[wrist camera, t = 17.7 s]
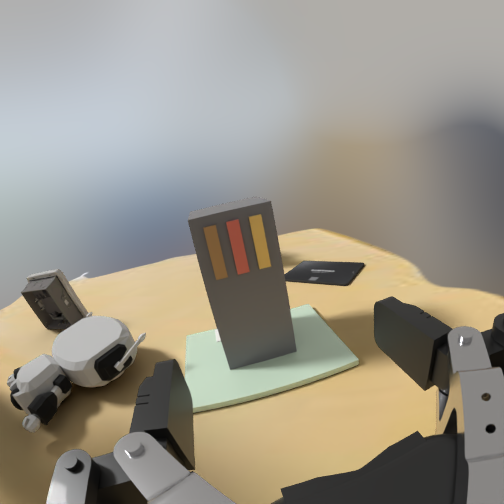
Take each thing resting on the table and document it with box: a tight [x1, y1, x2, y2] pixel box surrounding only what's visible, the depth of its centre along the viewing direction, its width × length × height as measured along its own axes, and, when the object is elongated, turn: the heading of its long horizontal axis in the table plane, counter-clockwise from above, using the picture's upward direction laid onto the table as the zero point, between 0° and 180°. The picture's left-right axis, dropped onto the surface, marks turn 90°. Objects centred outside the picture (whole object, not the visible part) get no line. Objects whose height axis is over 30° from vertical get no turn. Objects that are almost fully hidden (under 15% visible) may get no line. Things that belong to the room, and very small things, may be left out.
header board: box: [185, 304, 359, 413], centre depth 22 cm, size 13×11×10 cm
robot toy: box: [7, 312, 146, 432], centre depth 21 cm, size 12×4×15 cm
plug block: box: [188, 197, 297, 370], centre depth 22 cm, size 6×5×12 cm
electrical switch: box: [21, 269, 88, 329], centre depth 35 cm, size 9×5×9 cm, turn 81°
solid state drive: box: [284, 261, 364, 286], centre depth 38 cm, size 7×10×1 cm
